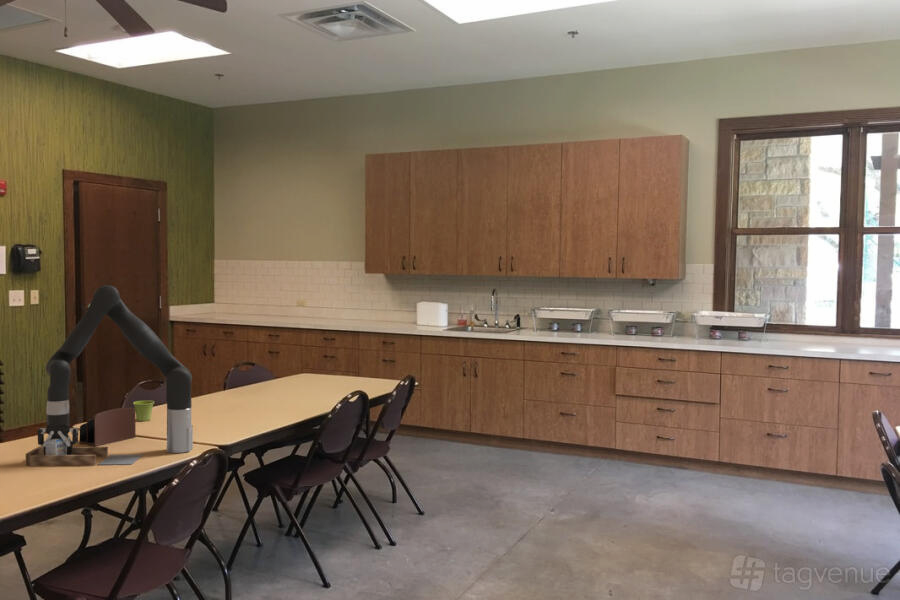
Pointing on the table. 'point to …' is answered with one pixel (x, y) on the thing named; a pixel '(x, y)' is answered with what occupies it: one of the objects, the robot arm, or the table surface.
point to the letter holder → (109, 427)
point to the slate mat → (120, 460)
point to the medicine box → (56, 447)
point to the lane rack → (66, 457)
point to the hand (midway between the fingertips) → (58, 455)
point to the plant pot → (143, 410)
